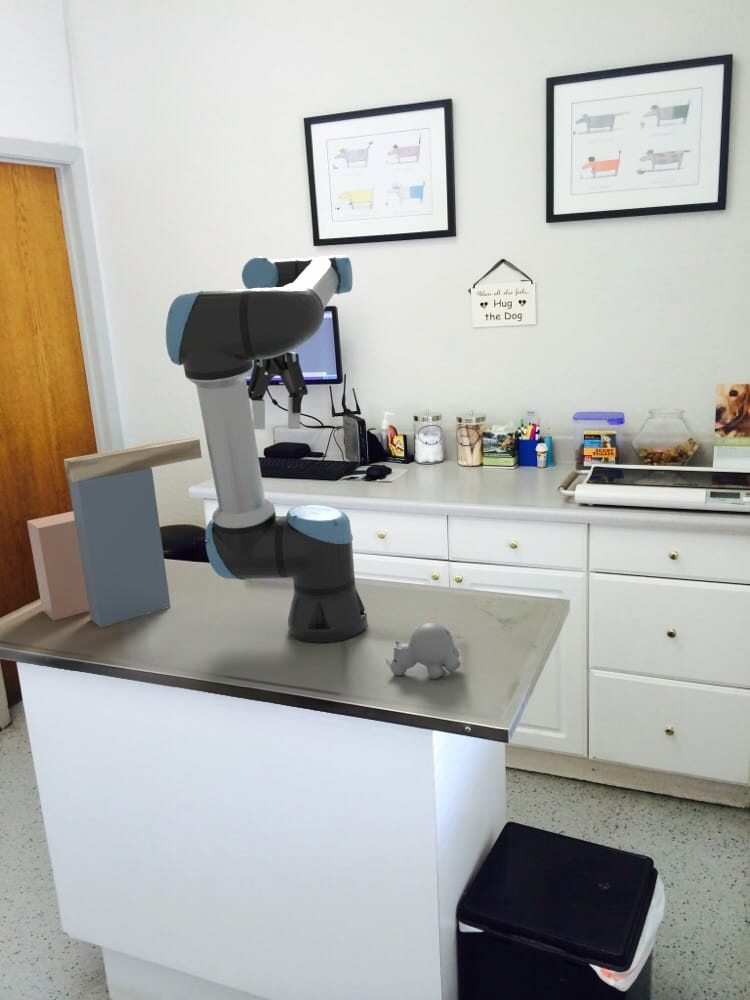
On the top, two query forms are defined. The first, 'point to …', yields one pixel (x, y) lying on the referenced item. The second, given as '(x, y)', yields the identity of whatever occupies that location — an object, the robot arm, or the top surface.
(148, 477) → the post
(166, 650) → the top surface
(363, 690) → the top surface
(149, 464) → the bar
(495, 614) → the top surface
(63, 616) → the step
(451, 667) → the round bodied animal figurine
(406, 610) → the top surface
